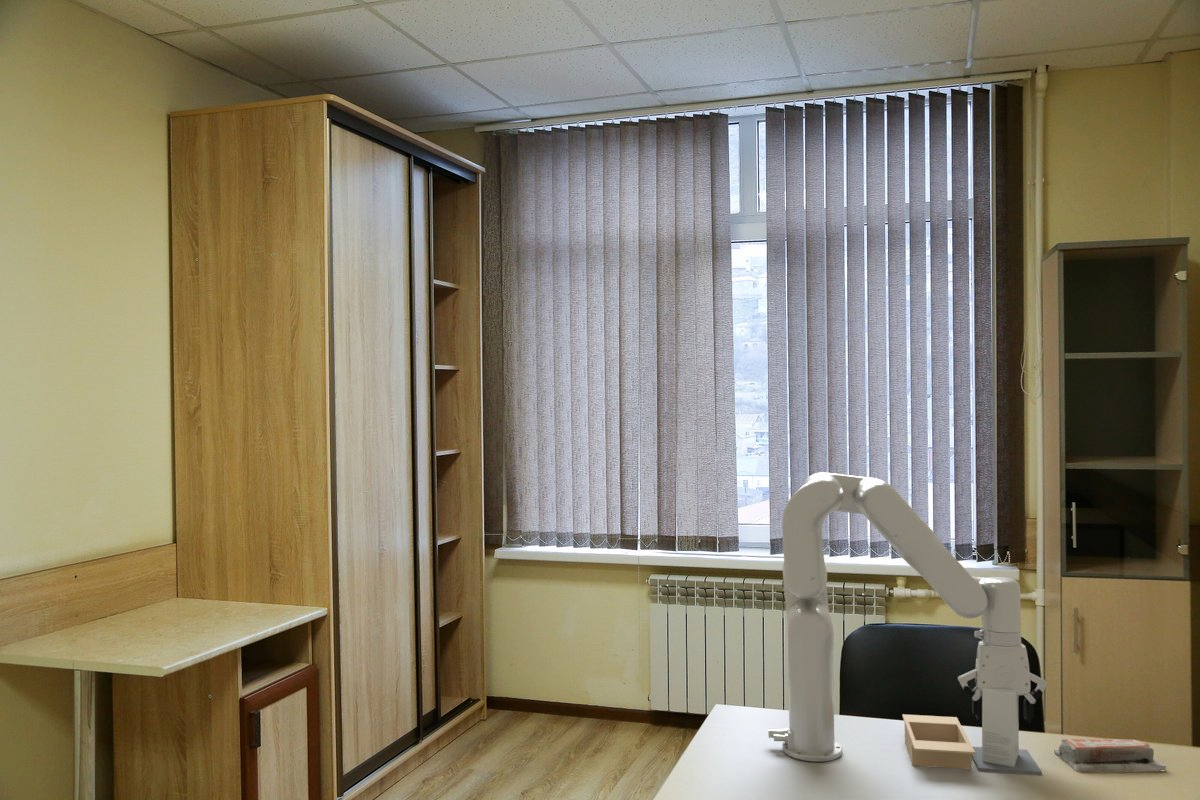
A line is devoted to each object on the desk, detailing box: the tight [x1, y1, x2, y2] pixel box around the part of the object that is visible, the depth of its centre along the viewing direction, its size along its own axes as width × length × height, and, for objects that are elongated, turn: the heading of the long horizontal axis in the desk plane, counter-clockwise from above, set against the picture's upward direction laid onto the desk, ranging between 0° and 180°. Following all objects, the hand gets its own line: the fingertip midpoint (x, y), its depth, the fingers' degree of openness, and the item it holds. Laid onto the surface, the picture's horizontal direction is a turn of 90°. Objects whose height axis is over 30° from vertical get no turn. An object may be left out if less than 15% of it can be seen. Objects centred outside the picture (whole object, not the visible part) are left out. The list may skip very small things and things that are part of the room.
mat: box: [971, 746, 1043, 776], centre depth 190 cm, size 12×12×1 cm
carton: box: [902, 713, 975, 770], centre depth 194 cm, size 12×21×5 cm, turn 168°
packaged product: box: [1053, 738, 1167, 773], centre depth 189 cm, size 18×5×10 cm
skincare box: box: [981, 688, 1020, 767], centre depth 190 cm, size 8×7×16 cm
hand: (1002, 719), depth 190 cm, fingers open, 9 cm apart
